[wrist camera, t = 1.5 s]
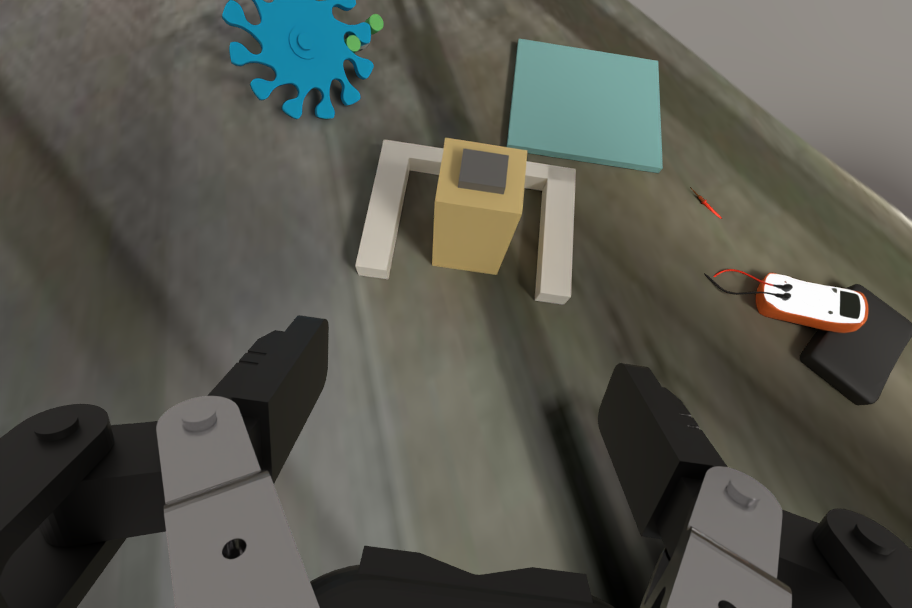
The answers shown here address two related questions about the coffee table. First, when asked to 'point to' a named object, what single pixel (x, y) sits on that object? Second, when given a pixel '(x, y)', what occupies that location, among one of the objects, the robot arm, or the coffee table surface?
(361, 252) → the white u-shaped bracket
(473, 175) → the plug block
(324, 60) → the blue germ toy
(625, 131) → the mat
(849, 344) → the multimeter
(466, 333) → the coffee table surface
